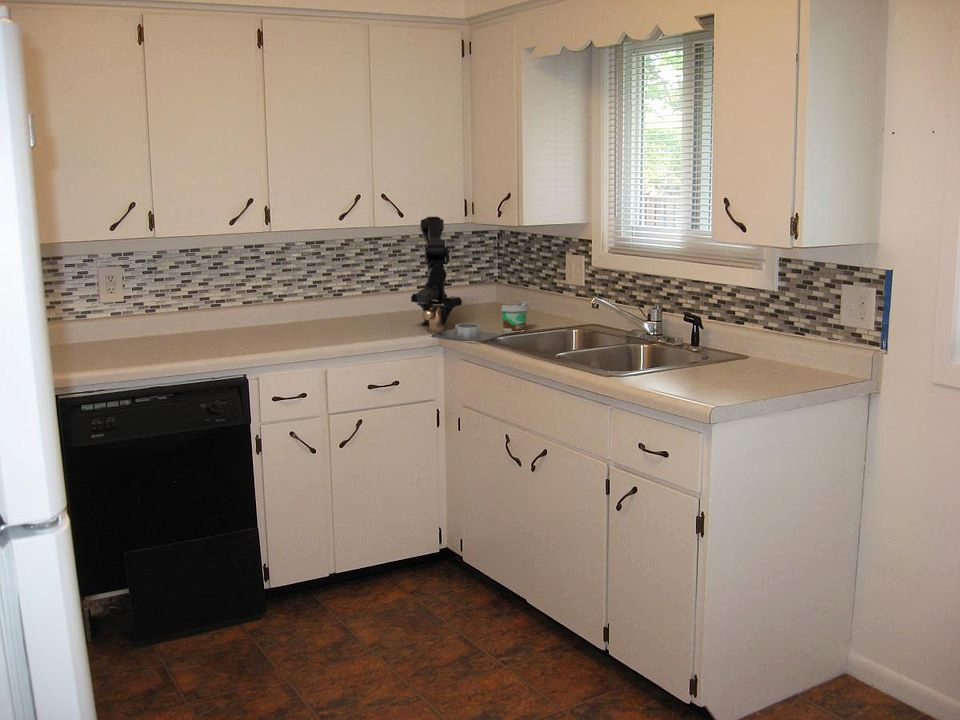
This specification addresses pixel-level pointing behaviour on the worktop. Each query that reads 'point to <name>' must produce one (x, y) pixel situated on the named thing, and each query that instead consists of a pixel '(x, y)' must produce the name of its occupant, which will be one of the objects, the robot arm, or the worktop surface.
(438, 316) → the elbow
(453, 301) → the robot arm
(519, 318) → the food container
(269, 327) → the worktop surface
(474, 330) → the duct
